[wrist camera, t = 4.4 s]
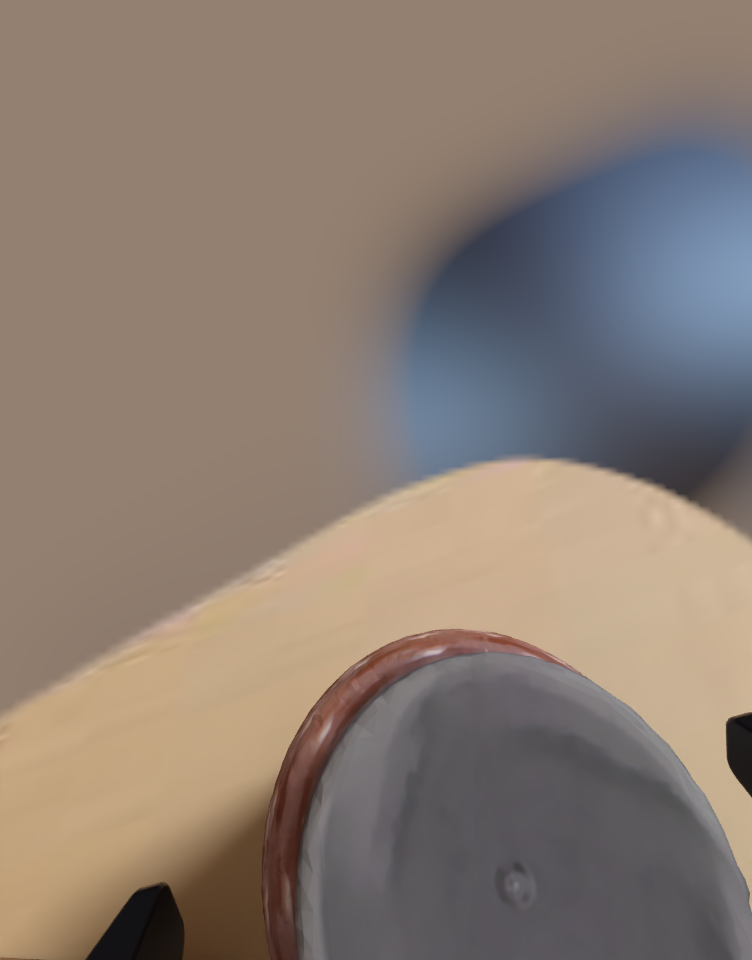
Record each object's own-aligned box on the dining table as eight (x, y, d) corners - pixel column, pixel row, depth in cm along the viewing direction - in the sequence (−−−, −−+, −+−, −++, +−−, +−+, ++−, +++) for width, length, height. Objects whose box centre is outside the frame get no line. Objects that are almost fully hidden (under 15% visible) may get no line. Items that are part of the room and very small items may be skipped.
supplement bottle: (326, 951, 12) (43, 1610, 3) (333, 698, 15) (218, 567, 6) (561, 948, 12) (1205, 1649, 2) (519, 693, 15) (723, 550, 6)
